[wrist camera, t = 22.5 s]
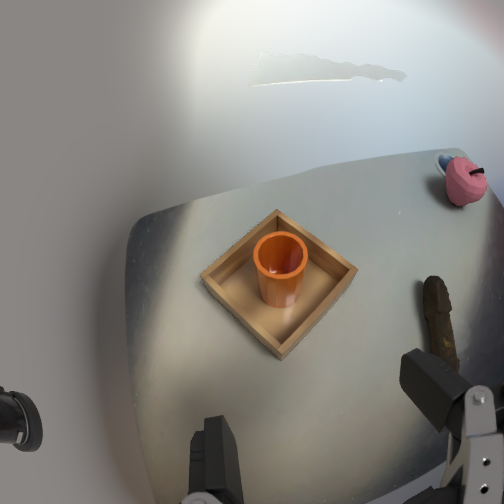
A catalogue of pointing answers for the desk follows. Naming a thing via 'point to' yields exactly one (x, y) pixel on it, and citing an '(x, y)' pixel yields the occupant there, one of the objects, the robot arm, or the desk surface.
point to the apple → (464, 181)
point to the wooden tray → (248, 296)
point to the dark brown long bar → (440, 320)
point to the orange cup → (280, 268)
